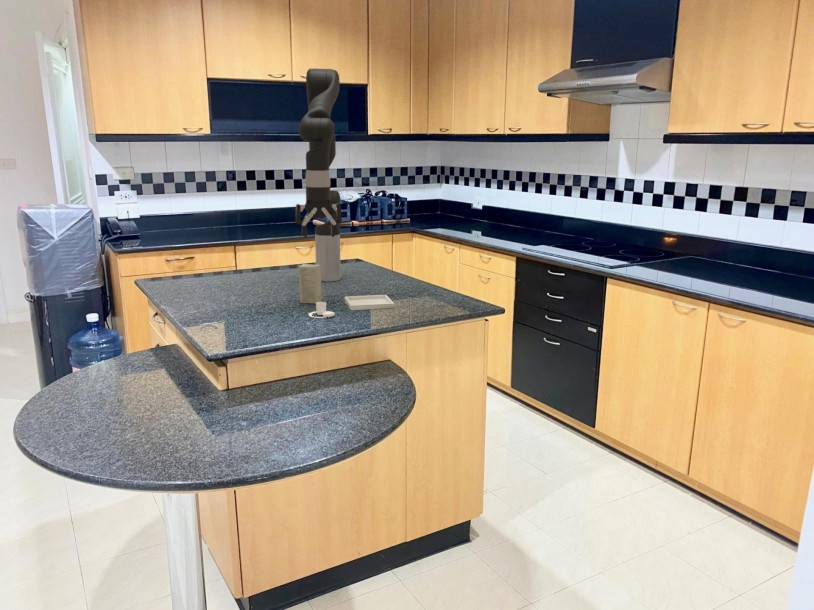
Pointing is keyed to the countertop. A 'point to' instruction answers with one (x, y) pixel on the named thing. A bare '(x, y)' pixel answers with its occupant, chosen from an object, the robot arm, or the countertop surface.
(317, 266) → the skincare box
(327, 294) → the countertop surface
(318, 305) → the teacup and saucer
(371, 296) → the tray
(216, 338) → the countertop surface
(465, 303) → the countertop surface
